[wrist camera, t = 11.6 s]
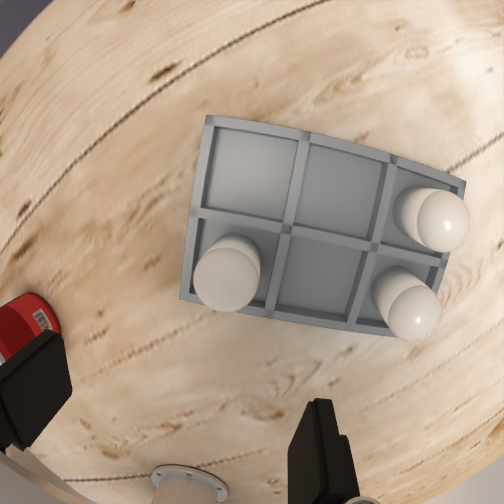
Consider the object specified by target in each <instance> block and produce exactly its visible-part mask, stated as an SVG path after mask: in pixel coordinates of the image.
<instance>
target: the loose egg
mask: <svg viewBox="0 0 504 504" xmlns="http://www.w3.org/2000/svg"><path fill="white" fill-rule="evenodd" d="M260 269H261V253H260V250H259V248H258V246H257V245H256V244H255V242H254V241H253V240H251V239H250V238H249V237H247V236H245V235H242V234H237V233H231V234H226V235H223V236H221V237H219V238H218V239H217V240H216V241H215V242H214V243H213V244H212V245H211V247H210V248H209V249H208V250H207V251H206V253H205V254H204V255H203V256H202V258H201V259H200V260H199V262H198V263H197V265H196V267H195V270H194V275H193V284H194V289H195V292H196V294H197V296H198V297H199V299H200V300H201V301H202V302H203V303H204V304H205V305H206V306H207V307H209V308H211V309H213V310H215V311H219V312H234V311H237V310H240V309H242V308H243V307H245V306H246V305H247V304H249V303H250V301H251V300H252V299H253V298H254V296H255V294H256V292H257V289H258V284H259V277H260Z"/></svg>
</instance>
